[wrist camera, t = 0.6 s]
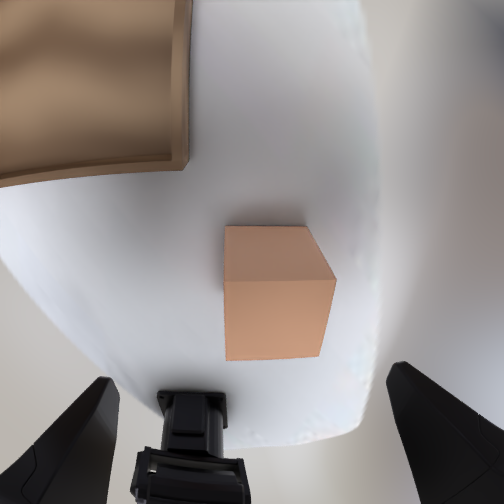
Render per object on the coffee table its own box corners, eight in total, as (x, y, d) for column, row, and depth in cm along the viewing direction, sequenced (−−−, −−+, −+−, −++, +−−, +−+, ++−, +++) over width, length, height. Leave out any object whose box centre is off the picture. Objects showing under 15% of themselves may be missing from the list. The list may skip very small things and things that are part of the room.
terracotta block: (298, 293, 21) (318, 356, 16) (225, 294, 21) (225, 360, 15) (306, 226, 19) (336, 279, 13) (224, 225, 18) (223, 281, 13)
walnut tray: (189, 160, 16) (182, 170, 14) (-8, 181, 15) (-29, 193, 13) (199, -69, 9) (196, -89, 7) (-3, -8, 8) (-23, -13, 6)
